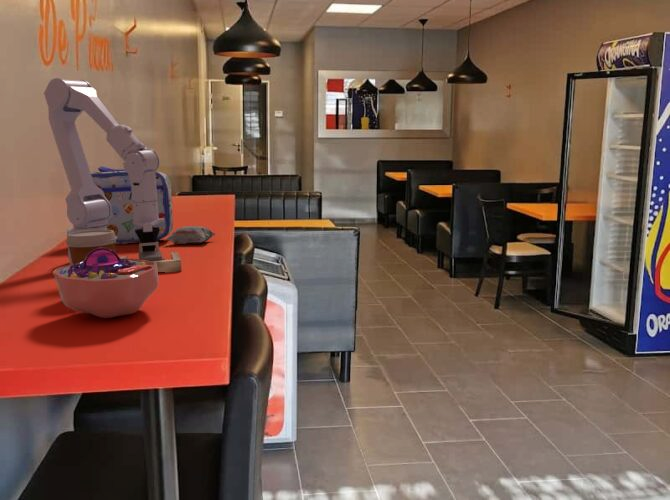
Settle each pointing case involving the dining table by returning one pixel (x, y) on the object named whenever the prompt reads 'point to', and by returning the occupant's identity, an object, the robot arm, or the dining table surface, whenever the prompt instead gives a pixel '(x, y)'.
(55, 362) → the dining table surface
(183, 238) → the packaged food
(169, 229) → the lunch box
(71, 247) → the disposable coffee cup
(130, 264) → the cell model
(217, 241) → the dining table surface
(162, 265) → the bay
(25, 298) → the dining table surface
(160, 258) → the grey box with knobs
